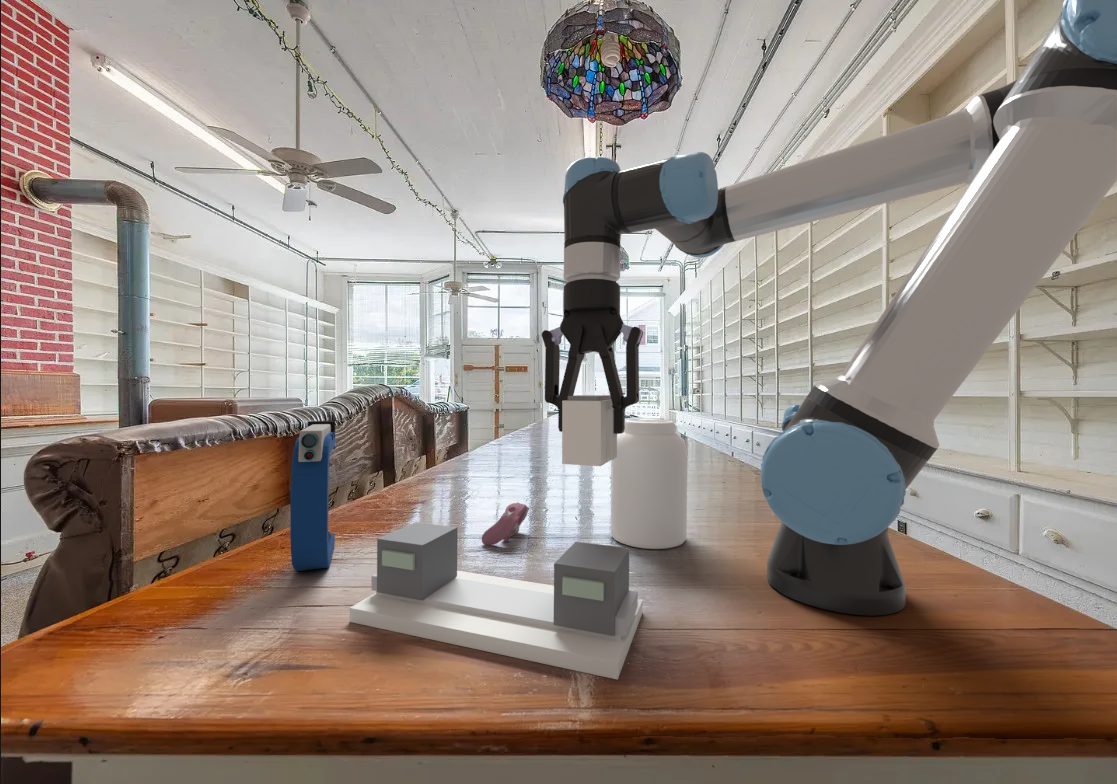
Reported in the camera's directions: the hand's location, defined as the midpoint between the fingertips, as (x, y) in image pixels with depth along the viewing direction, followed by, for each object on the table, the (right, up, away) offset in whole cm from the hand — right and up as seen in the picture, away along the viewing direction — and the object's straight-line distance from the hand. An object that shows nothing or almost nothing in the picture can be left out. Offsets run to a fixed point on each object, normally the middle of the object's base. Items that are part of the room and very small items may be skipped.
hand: (591, 457), depth 63 cm
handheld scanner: (-39, -16, +4) cm, 42 cm away
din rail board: (-11, -16, -11) cm, 22 cm away
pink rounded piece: (-13, -16, +16) cm, 26 cm away
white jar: (+11, -16, +16) cm, 25 cm away
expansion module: (0, 0, 0) cm, 0 cm away
